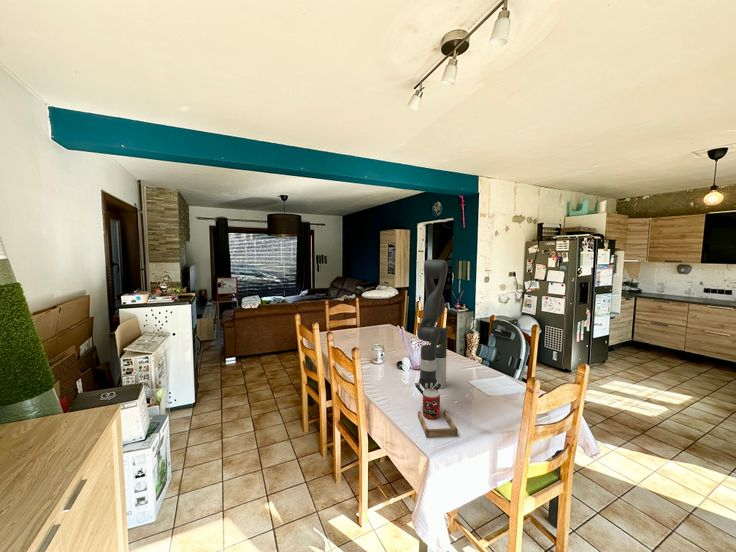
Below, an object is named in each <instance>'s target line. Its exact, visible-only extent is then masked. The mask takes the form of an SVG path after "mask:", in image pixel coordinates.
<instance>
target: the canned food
mask: <svg viewBox="0 0 736 552" xmlns="http://www.w3.org/2000/svg"><path fill="white" fill-rule="evenodd" d="M440 406H441V393H440V391H439V390H435V389H433V388H432V389H426V390H424V389H423V395H422V416H423V418H425V419H428V420H436V419H437V420H438V418H439V417H440V414H441V412H440V411H441V409H440V408H441V407H440Z"/></svg>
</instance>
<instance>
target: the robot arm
mask: <svg viewBox="0 0 736 552" xmlns="http://www.w3.org/2000/svg"><path fill="white" fill-rule="evenodd" d="M448 267H449V266H448V262H447V261H446V260H444V259H426V260H425V261H424V265H423V275H424V282H425V283H424V284H425V297H426V299H425V303H424V309H423V315H422V319H421V321H420V323H419V326H418V328H417V330H416V331H417V332H416V336H417V338H418V340H420V341H424V342H427V343H429V344H424V345H421V347H420V361H419V363H420V365H419V379H418V382H415V383H414V386H415V388H416V389H417V390H418V392H419V393H420V394H421V395H422V396H423V391H424V390H426V389H435V390H438V391H439V390H442V389H445V388H446V387H447V347H448V330H447V328H446V327H440V326H439V327H438V326H437V327H436V326H435V324H436V322H437V321H438V320H439V319H440V318H441V316H442V315H443V314H444V312H445V298H444V295H443V292H444V289H445V284H446V280H447V276H448V270H449V268H448ZM435 279H436V280H438V282H437V284H435V281H434V280H435ZM438 345H439V346H438ZM421 387H422V388H423V389H422V388H421Z"/></svg>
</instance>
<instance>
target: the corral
mask: <svg viewBox="0 0 736 552" xmlns="http://www.w3.org/2000/svg"><path fill="white" fill-rule="evenodd" d="M443 417H444V419H445V421H446V423H447V425H448V426H449V427H447V428H429V427H428V426H427V423H426V421H425V419H424V418H425V417H424V416H423V413H422V411H421V410H418V411H417V419H418V420H419V422H420V425H421V428H422V430H423V433H424V435H425V438H427V439H428V438H443V437H444V438H445V437H458V433H459V431H458V430H459V429H458V428H457V426H456V424H455V423H454V421H453V418H451V415H449V413H448V411H447V410H446V409H444V410H443Z"/></svg>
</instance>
